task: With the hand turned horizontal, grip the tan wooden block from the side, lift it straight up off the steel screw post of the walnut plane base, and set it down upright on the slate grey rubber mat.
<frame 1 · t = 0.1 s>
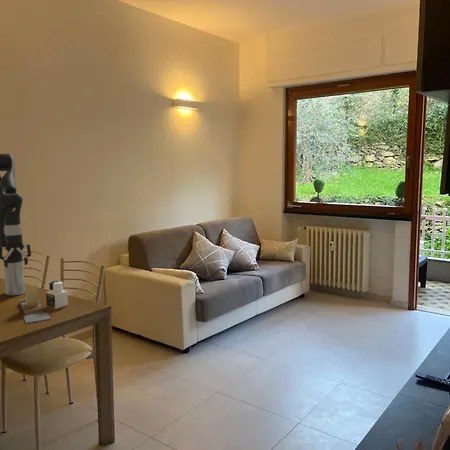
hand: (16, 266, 230), 17 cm above the table, tool pointing down, fingers open, 8 cm apart
tan wooden block: (32, 305, 218), point 2 cm above the table, touching plane base
medicine bottle: (57, 306, 223), on the table
rubber mat: (36, 318, 206), on the table
plane base: (31, 307, 221), on the table
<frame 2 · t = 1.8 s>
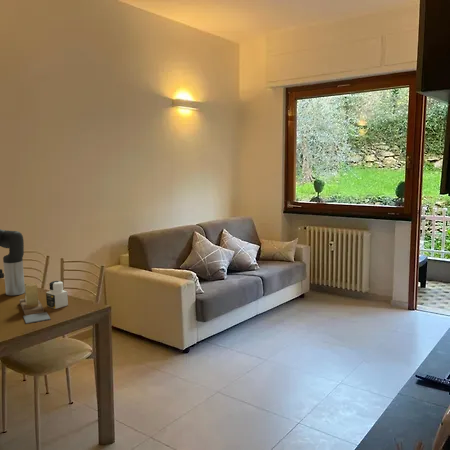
hand: (3, 273, 210), 19 cm above the table, tool horizontal, fingers open, 8 cm apart
nothing on the table moved.
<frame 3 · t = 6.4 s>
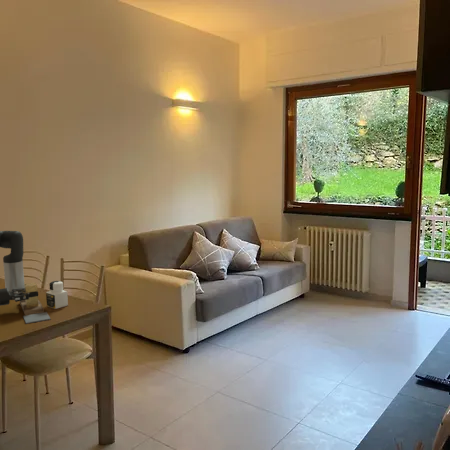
hand: (37, 292, 218), 8 cm above the table, tool horizontal, fingers closed on tan wooden block, 5 cm apart
tan wooden block: (32, 305, 218), point 2 cm above the table, touching gripper, plane base
everything else where it was.
when the fingers open (8 cm above the table, at t = 12.3 s): tan wooden block drops 1 cm, resting on rubber mat.
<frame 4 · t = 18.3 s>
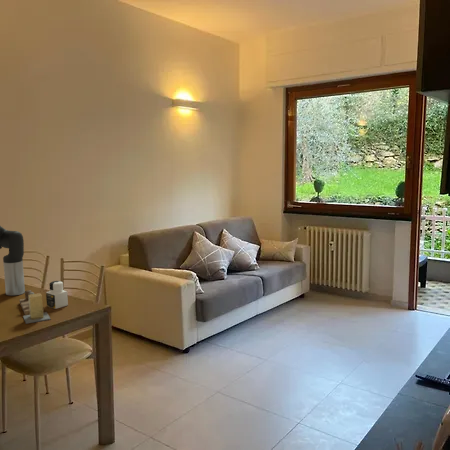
hand: (0, 244, 209), 32 cm above the table, tool horizontal, fingers open, 8 cm apart
tan wooden block: (36, 317, 206), resting on rubber mat
everything else where it was.
at the end: tan wooden block inside the target area (0.1 cm from its centre), point 0.5 cm above the table; tan wooden block tilted 0°; the gripper is holding nothing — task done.
